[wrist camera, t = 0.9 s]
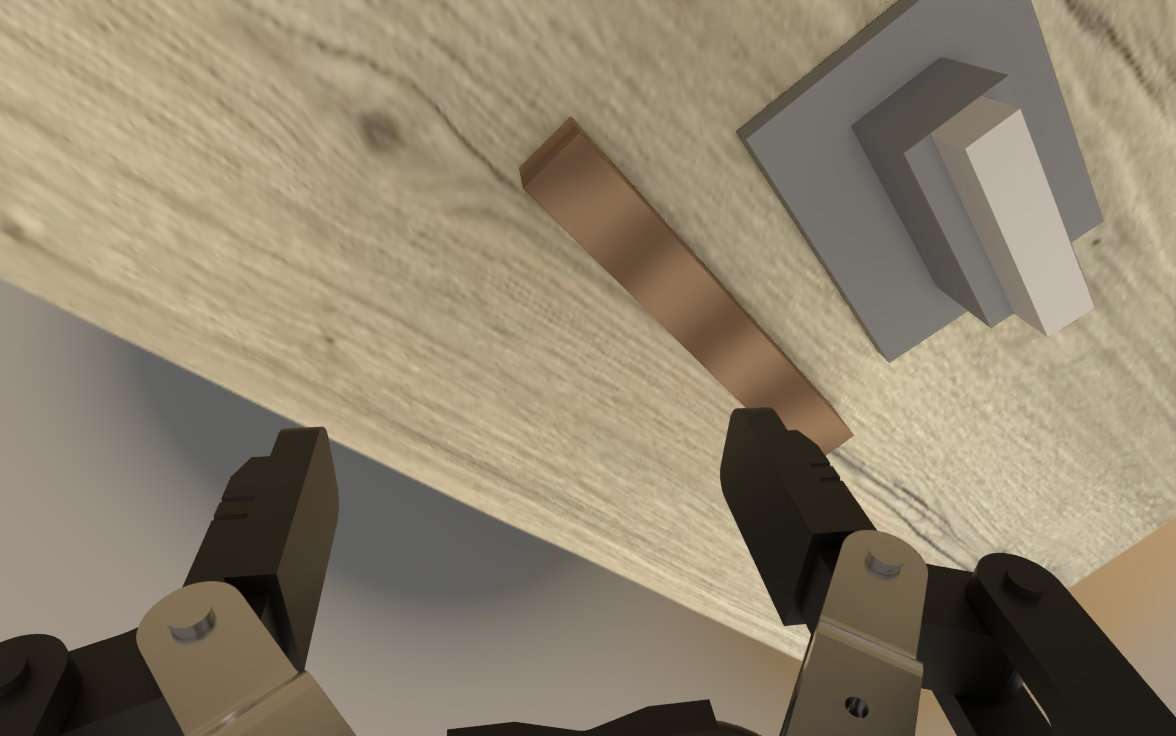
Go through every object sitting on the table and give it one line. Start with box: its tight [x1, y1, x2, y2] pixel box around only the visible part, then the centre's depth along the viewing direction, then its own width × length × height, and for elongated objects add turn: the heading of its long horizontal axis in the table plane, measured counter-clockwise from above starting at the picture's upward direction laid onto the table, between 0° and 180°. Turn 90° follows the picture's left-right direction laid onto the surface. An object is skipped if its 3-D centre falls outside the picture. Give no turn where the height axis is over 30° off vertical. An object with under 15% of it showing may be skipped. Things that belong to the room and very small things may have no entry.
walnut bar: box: [519, 117, 854, 456], centre depth 39 cm, size 26×4×4 cm, turn 42°
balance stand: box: [737, 0, 1104, 363], centre depth 34 cm, size 14×18×9 cm
